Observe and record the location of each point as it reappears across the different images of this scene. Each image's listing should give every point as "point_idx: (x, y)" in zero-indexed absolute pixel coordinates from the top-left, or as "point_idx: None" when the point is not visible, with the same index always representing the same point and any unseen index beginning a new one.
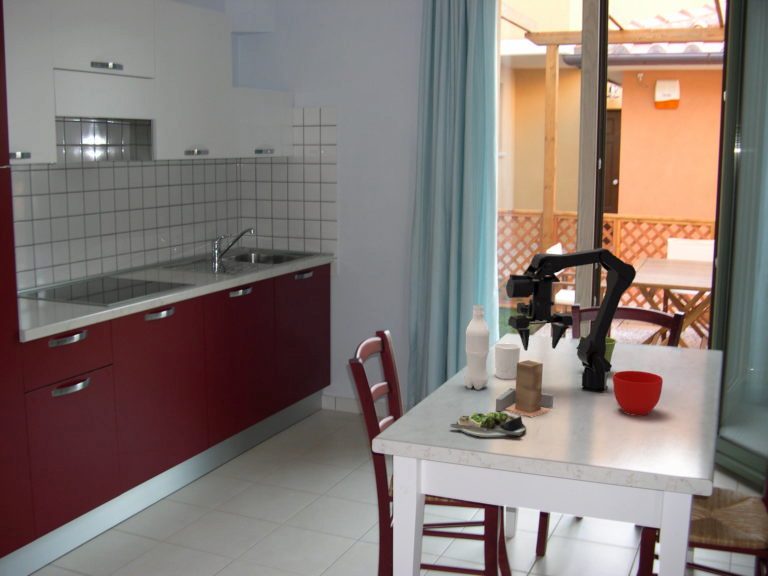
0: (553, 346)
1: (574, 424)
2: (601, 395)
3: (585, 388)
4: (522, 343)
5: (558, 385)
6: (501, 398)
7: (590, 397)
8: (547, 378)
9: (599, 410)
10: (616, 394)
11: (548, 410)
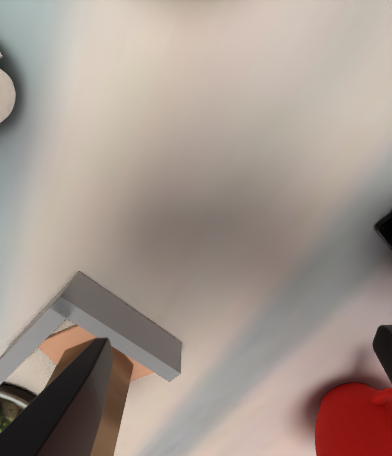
0: (386, 357)
1: (168, 432)
2: (381, 287)
3: (384, 236)
4: (46, 388)
5: (339, 147)
6: (2, 376)
7: (336, 297)
8: (377, 11)
9: (278, 380)
10: (320, 452)
11: (150, 373)
